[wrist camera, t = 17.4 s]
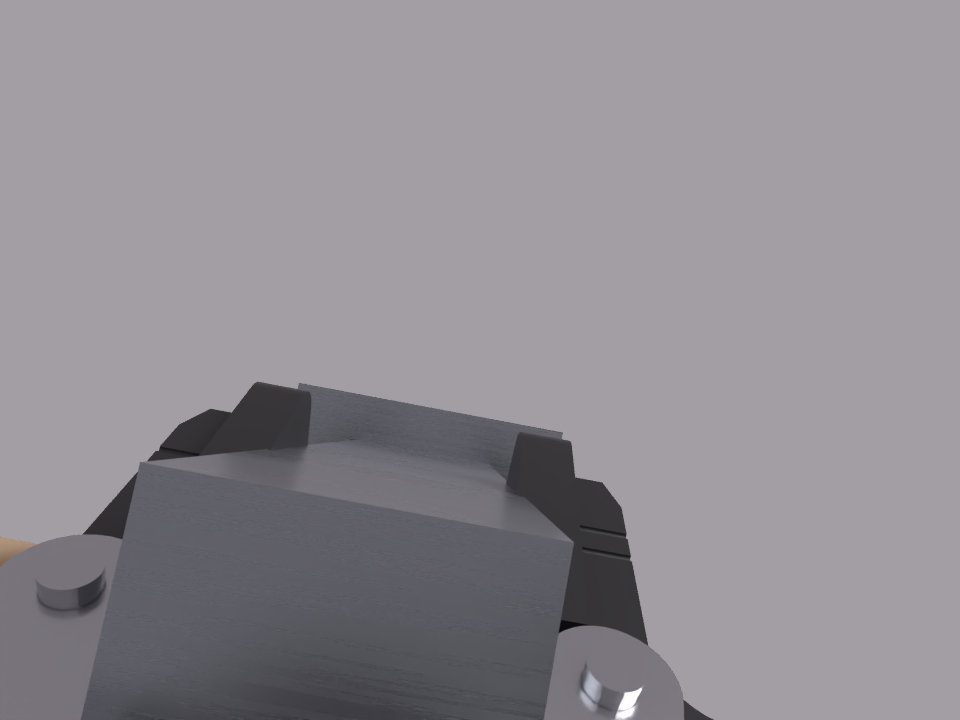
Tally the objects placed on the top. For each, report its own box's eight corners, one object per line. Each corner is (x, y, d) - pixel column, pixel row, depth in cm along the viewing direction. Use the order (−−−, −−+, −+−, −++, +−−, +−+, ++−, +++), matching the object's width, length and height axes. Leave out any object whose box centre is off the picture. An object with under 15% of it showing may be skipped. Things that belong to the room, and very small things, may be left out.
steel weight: (505, 552, 24) (526, 431, 25) (719, 1047, 5) (807, 438, 5) (323, 518, 24) (348, 398, 24) (-203, 888, 5) (-43, 277, 5)
